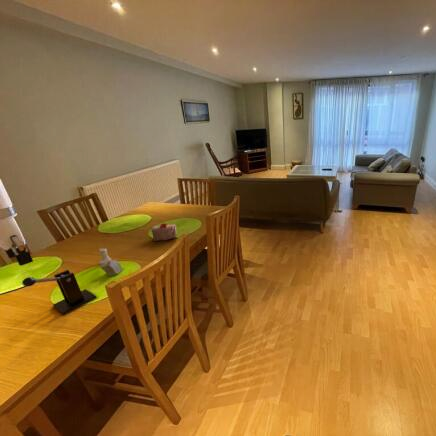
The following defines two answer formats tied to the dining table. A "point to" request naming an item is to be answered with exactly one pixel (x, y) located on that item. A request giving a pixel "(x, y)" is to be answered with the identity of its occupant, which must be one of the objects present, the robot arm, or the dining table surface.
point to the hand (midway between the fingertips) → (21, 259)
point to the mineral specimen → (110, 267)
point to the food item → (164, 232)
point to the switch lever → (38, 280)
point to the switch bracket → (71, 293)
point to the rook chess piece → (104, 254)
